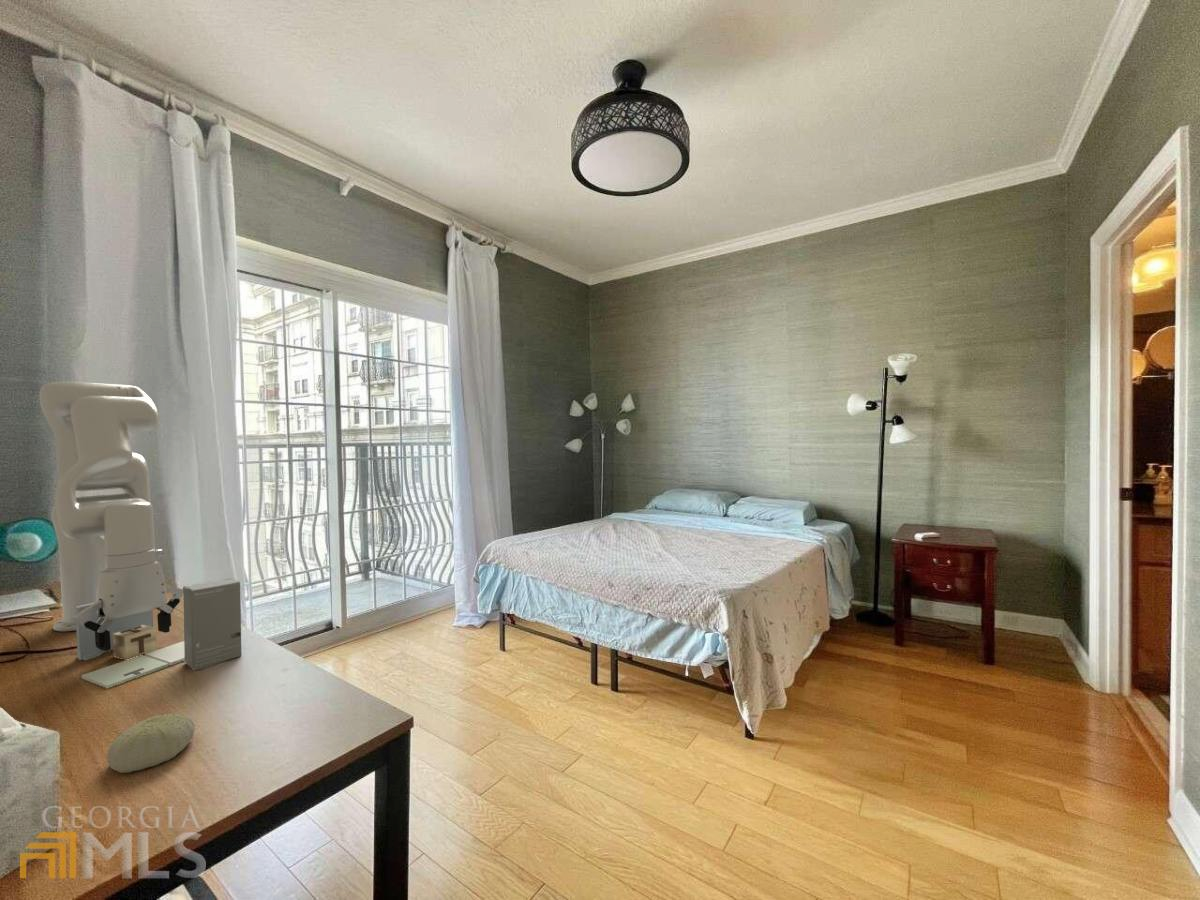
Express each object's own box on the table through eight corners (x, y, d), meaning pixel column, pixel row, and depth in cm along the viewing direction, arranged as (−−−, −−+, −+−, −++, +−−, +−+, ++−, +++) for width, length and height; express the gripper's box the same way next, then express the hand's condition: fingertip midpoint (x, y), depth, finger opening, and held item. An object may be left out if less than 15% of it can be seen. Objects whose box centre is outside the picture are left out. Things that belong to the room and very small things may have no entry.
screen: (75, 658, 99) (72, 606, 99) (148, 635, 110) (146, 588, 110) (83, 661, 98) (80, 608, 97) (156, 638, 109) (154, 590, 108)
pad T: (81, 678, 91) (81, 674, 91) (142, 657, 99) (142, 654, 99) (107, 688, 87) (107, 684, 87) (168, 666, 95) (168, 662, 95)
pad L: (145, 656, 99) (145, 653, 99) (196, 639, 108) (196, 636, 108) (171, 665, 95) (171, 661, 95) (222, 646, 103) (222, 643, 103)
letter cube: (113, 657, 100) (112, 632, 100) (144, 647, 104) (143, 623, 104) (126, 661, 98) (125, 636, 97) (157, 651, 102) (156, 627, 102)
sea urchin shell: (215, 717, 74) (182, 702, 68) (186, 779, 68) (148, 768, 63) (154, 720, 73) (116, 705, 68) (121, 781, 68) (76, 771, 62)
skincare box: (192, 672, 92) (189, 591, 92) (183, 662, 97) (179, 585, 96) (245, 655, 99) (241, 580, 99) (233, 647, 103) (230, 575, 103)
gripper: (171, 549, 110) (175, 623, 110) (64, 569, 94) (69, 655, 94) (190, 551, 107) (194, 627, 107) (82, 572, 91) (87, 661, 91)
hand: (135, 640), depth 101 cm, fingers open, 9 cm apart
